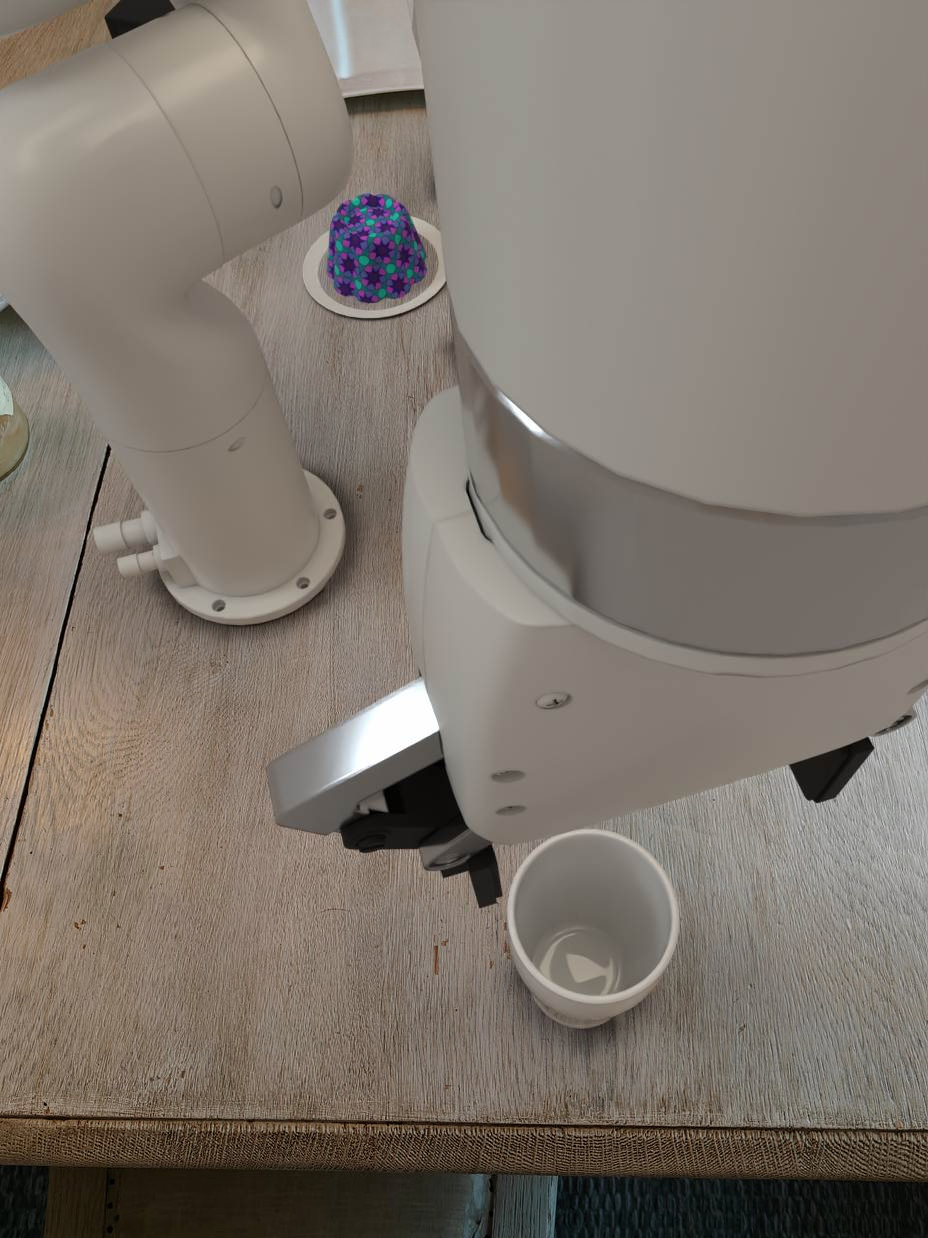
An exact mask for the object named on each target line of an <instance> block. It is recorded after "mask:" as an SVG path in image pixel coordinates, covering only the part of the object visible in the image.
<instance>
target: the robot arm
mask: <svg viewBox="0 0 928 1238" xmlns="http://www.w3.org/2000/svg"><path fill="white" fill-rule="evenodd" d="M93 1H94V0H0V41H2V40H5V39H7V38H11V37H12V36H15V35H17V34H20V33H22V32H25V31H27V30H29V29H31V28H34V27H36V26H39V25H42V24H43V23H46V22H48V21H50V20H53V19H54V18H57V17H59V16H61V15H64V14H66V13H68V12H70V11H73V10H75V9H78V8H79V7H81V6H84V5H86V4H89V3H91V2H93ZM170 2H171V3H172V5H173V6H174V7H175V9H176V10H174V11H172V12H169V13H167V14H165V15H163V16H161V17H159V18H156V19H154V20H152V21H150V22H148V23H146V24H144V25H142V26H140V27H138V28H135V29H133V30H131V31H129V32H127V33H125V34H123V35H120V36H118V37H116V38H114V39H112V38H111V39H109V40H108V41H106V42H97V43H96V44H93V45H91V46H89V47H87V48H85V49H82V50H80V51H78V52H76V53H74V54H72V55H70V56H67V57H66V58H63V59H61V60H58V61H56V62H55V63H53V64H50V65H48V66H46V67H44V68H42V69H39V70H37V71H35V72H33V73H31V74H28V75H27V76H25V77H22V78H21V79H18V80H16V81H14V82H12V83H10V84H8V85H7V86H5V87H3V88H2V89H0V296H2V297H3V299H4V300H5V301H6V302H7V304H9V306H11V307H12V309H13V310H14V312H16V314H17V315H18V316H19V317H20V318H21V319H22V320H23V321H24V323H25V324H26V325H27V326H28V327H29V329H30V330H31V332H33V334H34V335H35V336H36V337H37V339H38V340H39V341H40V343H41V344H42V345H43V346H44V348H45V349H46V350H47V352H48V353H49V354H50V356H51V357H52V358H53V360H54V361H55V363H56V364H57V366H58V367H59V369H60V370H61V372H62V373H63V374H64V377H66V379H67V381H68V382H69V383H70V385H71V387H72V388H73V389H74V391H75V392H76V394H77V396H78V397H79V399H80V401H81V402H82V404H83V406H84V408H85V409H86V410H87V412H88V413H89V415H90V417H91V419H92V421H93V422H94V423H95V425H96V426H97V428H98V430H99V431H100V433H101V435H102V436H103V438H104V439H105V441H106V442H107V444H108V446H109V448H110V449H111V451H112V452H113V454H114V456H115V458H116V459H117V461H118V462H119V464H120V466H121V467H122V469H123V471H124V472H125V474H126V476H127V477H128V479H129V480H130V481H131V484H132V485H133V487H134V489H135V491H136V492H137V494H138V495H139V497H140V499H141V500H142V502H143V504H144V505H145V507H146V508H147V509H144V510H141V511H140V517H137V518H133V519H129V520H125V521H122V520H118V521H115V522H111V523H107V524H104V525H99V526H96V527H94V528H93V539H94V542H95V545H96V548H97V551H98V552H99V554H100V555H101V556H102V557H105V556H109V555H112V554H113V555H114V554H117V553H120V552H126V551H129V550H131V549H132V548H135V547H138V546H142V545H147V544H149V545H150V547H151V548H152V550H148V551H144V552H141V553H139V552H138V553H137V552H136V553H132V554H129V555H125V556H122V557H117V559H116V564H117V569H118V572H119V574H120V576H121V578H123V579H124V580H125V579H129V578H133V577H138V576H141V575H144V574H145V573H149V572H152V571H155V570H158V572H159V575H160V578H161V579H160V580H161V581H162V582H163V584H164V586H165V587H166V589H167V590H168V592H169V593H170V595H171V596H172V597H173V598H174V600H175V601H176V602H177V603H178V604H179V605H180V606H182V607H183V608H184V609H186V610H187V611H188V612H190V613H191V614H192V615H194V616H196V617H199V618H202V620H203V619H204V620H205V621H209V622H214V623H217V624H220V625H231V626H232V625H233V626H247V625H255V624H256V625H257V624H262V623H267V622H269V621H273V620H277V619H279V618H281V617H284V616H286V615H288V614H291V613H293V612H295V611H297V610H298V609H299V608H301V607H303V606H304V605H306V604H307V603H309V602H310V601H311V600H312V599H314V597H316V596H317V595H318V594H319V593H320V592H322V590H324V588H325V587H326V584H327V583H328V582H329V580H330V579H331V578H332V576H333V575H334V573H335V571H336V569H337V567H338V566H339V563H340V561H341V560H342V556H343V553H344V548H345V545H346V523H345V518H344V514H343V510H342V508H341V505H340V503H339V502H340V501H339V500H338V499H337V497H336V495H335V494H334V492H333V491H332V489H331V488H330V487H329V486H328V485H327V484H326V483H325V482H324V481H323V480H322V479H321V478H320V477H318V476H316V475H315V473H312V472H311V471H309V470H307V469H305V468H303V465H302V463H301V460H300V457H299V454H298V452H297V448H296V445H295V443H294V439H293V437H292V434H291V430H290V428H289V425H288V422H287V419H286V416H285V413H284V410H283V407H282V404H281V402H280V399H279V396H278V393H277V390H276V387H275V384H274V381H273V378H272V375H271V372H270V369H269V367H268V364H267V361H266V358H265V355H264V352H263V349H262V346H261V343H260V341H259V339H258V336H257V334H256V332H255V330H254V328H253V325H252V323H251V322H250V321H249V319H248V318H247V316H246V315H245V314H244V312H243V311H242V310H241V309H240V308H239V307H238V306H237V305H236V304H235V302H233V300H231V299H230V298H229V297H228V296H227V295H225V294H224V293H223V292H221V291H220V290H219V289H217V288H215V287H214V286H213V285H212V284H210V283H208V282H206V281H204V280H203V279H204V278H205V277H207V276H209V275H210V274H212V273H213V272H215V271H217V270H219V269H221V268H222V266H223V265H225V264H227V263H229V262H231V261H233V260H234V259H237V258H238V257H240V256H242V255H243V254H246V253H247V252H249V251H250V250H253V249H254V248H256V247H258V246H261V244H264V243H265V242H267V241H269V240H270V239H273V238H275V237H276V236H278V235H280V234H282V233H284V232H286V231H287V230H289V229H291V228H293V227H295V226H297V225H298V224H299V223H301V222H303V221H304V220H307V219H308V218H311V217H312V216H313V215H315V214H316V213H318V212H319V211H321V210H322V209H324V208H326V207H327V206H328V205H330V204H331V203H332V202H333V201H334V200H335V199H336V198H337V197H338V196H339V195H340V194H341V193H342V192H343V190H345V187H346V186H347V184H348V182H349V180H350V177H351V176H352V172H353V171H352V170H353V167H354V162H355V161H354V160H355V159H354V158H355V145H354V133H353V130H352V129H353V128H352V124H351V120H350V116H349V112H348V109H347V105H346V101H345V98H344V95H343V93H342V89H341V87H340V82H339V79H338V78H337V75H336V72H335V69H334V67H333V64H332V62H331V59H330V56H329V54H328V51H327V49H326V46H325V44H324V43H325V42H324V41H323V38H322V36H321V33H320V30H319V28H318V26H317V23H316V21H315V18H314V16H313V13H312V11H311V8H310V5H309V2H308V0H170ZM414 3H415V12H416V21H417V30H418V38H419V47H420V56H421V60H420V64H421V73H422V82H423V91H424V99H425V108H426V117H427V126H428V137H429V145H430V152H431V162H432V171H433V172H432V173H433V180H434V188H435V198H436V206H437V207H436V208H437V214H438V221H439V228H440V229H439V231H440V232H441V243H442V252H443V260H444V269H445V278H446V282H445V283H446V288H447V296H448V308H449V315H450V325H451V334H452V341H453V343H452V344H453V351H454V360H455V369H456V378H457V384H455V385H452V386H450V387H448V388H445V389H443V390H441V391H440V392H438V393H436V394H434V396H432V397H431V398H430V399H429V400H428V401H427V403H426V405H425V407H424V408H423V410H422V412H421V413H420V416H419V418H418V420H417V422H416V424H415V427H414V431H413V433H412V437H411V443H410V447H409V453H408V459H407V466H406V473H405V480H404V489H403V499H402V519H401V552H402V553H401V557H402V558H401V559H402V578H403V579H402V580H403V588H404V601H405V611H406V617H407V622H408V623H407V624H408V630H409V636H410V643H411V648H412V649H411V650H412V655H413V660H414V664H415V670H416V675H417V678H416V679H414V680H412V681H410V682H409V683H407V684H404V685H403V686H401V687H400V688H398V689H396V690H395V691H393V692H391V693H389V694H388V695H386V696H384V697H382V698H380V699H379V700H377V701H375V702H373V703H371V704H370V705H368V706H366V707H365V708H363V709H361V710H359V711H357V712H356V713H354V714H351V715H350V716H348V717H346V718H345V719H343V720H341V721H339V722H338V723H336V724H334V725H332V726H331V727H329V728H327V729H325V730H324V731H322V732H320V733H318V734H316V735H314V736H312V737H311V738H308V739H307V740H305V741H304V742H302V743H300V744H299V745H297V746H295V747H293V748H291V749H290V750H288V751H286V752H284V753H282V754H281V755H279V756H277V757H275V758H274V759H272V760H271V761H269V762H268V763H267V764H266V766H265V775H266V779H267V784H268V789H269V790H268V791H269V794H270V795H269V796H270V799H271V800H270V801H271V806H272V811H273V816H274V821H275V824H276V826H279V827H282V828H286V829H292V830H295V831H299V832H304V833H305V832H306V833H309V834H316V835H320V836H325V837H327V836H328V835H331V834H333V833H336V834H337V833H338V834H340V837H341V842H342V845H343V847H344V848H345V849H348V850H353V851H358V852H359V853H361V854H369V853H370V854H371V853H375V852H377V851H379V850H385V851H386V850H418V852H419V857H420V860H421V864H422V867H423V869H424V871H427V872H440V875H441V877H442V879H443V880H444V879H446V878H450V877H453V876H457V875H460V874H463V873H466V872H468V875H469V878H470V882H471V885H472V889H473V892H474V894H475V895H474V897H475V899H476V903H477V905H478V909H483V908H486V907H489V906H493V905H496V904H498V901H497V899H499V898H502V897H503V896H504V895H503V888H502V882H501V876H500V870H499V863H498V860H497V856H496V852H495V850H494V849H495V848H494V845H493V843H494V844H497V845H501V846H511V845H519V844H526V843H530V842H531V843H532V842H534V841H540V840H544V839H549V838H552V837H553V836H556V835H559V834H563V833H566V832H570V831H573V830H577V829H585V828H588V827H590V826H595V825H597V824H600V823H604V822H607V821H611V820H613V819H617V818H621V817H624V816H627V815H631V814H635V813H637V812H641V811H645V810H647V809H650V808H654V807H659V806H660V805H664V804H667V803H670V802H674V801H677V800H680V799H683V798H687V797H690V796H693V795H696V794H701V793H704V792H706V791H709V790H713V789H717V788H719V787H723V786H725V785H726V786H727V785H729V784H732V783H735V782H739V781H742V780H746V779H748V778H752V777H755V776H757V775H761V774H765V773H767V772H770V771H773V770H776V769H780V768H783V767H786V766H789V769H790V771H791V773H792V776H793V777H794V779H795V781H796V783H797V785H798V787H799V789H800V791H801V793H802V795H803V797H804V798H805V799H806V800H807V801H808V802H810V801H813V802H814V803H815V804H821V803H824V802H827V801H830V800H833V799H835V798H837V796H838V795H840V793H841V792H842V790H843V789H844V788H845V787H846V786H847V785H848V783H849V782H850V781H851V779H852V778H853V777H854V775H855V774H856V773H857V772H858V770H859V769H860V767H862V765H864V763H865V762H866V760H867V759H868V758H869V757H870V755H871V754H872V753H873V751H875V749H876V748H875V746H874V744H873V742H872V740H871V738H870V737H872V738H875V737H876V738H877V737H881V736H884V735H887V734H890V733H893V732H895V731H897V730H900V729H902V728H904V727H905V726H907V725H909V724H910V723H911V722H913V721H914V720H915V719H916V718H917V717H918V713H917V712H916V710H915V708H914V707H913V706H914V705H916V703H917V702H918V701H919V700H920V699H921V698H922V696H923V695H924V694H925V693H926V692H927V691H928V0H414ZM420 56H419V57H420Z"/></svg>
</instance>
